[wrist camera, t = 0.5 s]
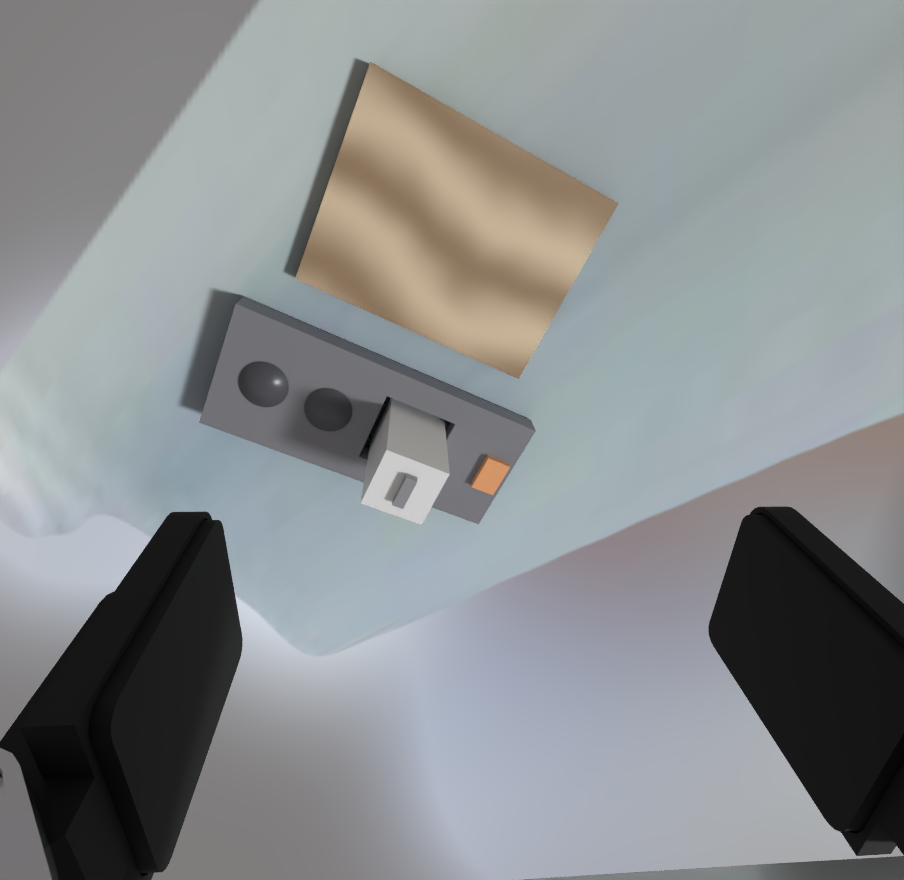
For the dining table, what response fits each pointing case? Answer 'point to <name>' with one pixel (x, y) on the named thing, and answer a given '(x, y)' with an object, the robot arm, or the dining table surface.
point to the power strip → (350, 405)
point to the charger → (406, 462)
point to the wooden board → (449, 226)
